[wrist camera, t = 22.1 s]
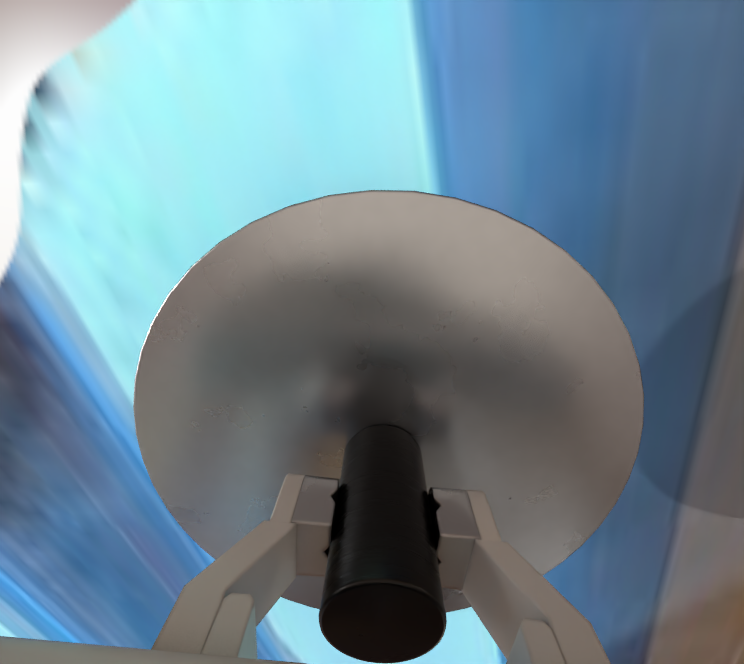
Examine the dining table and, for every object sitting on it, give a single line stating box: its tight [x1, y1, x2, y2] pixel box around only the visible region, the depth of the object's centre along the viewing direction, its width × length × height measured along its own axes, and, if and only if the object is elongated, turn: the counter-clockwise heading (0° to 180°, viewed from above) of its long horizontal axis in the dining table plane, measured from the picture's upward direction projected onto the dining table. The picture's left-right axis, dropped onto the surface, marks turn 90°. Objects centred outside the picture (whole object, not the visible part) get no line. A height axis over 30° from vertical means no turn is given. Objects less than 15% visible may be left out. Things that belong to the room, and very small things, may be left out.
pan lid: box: [133, 190, 644, 663], centre depth 10 cm, size 17×17×6 cm
